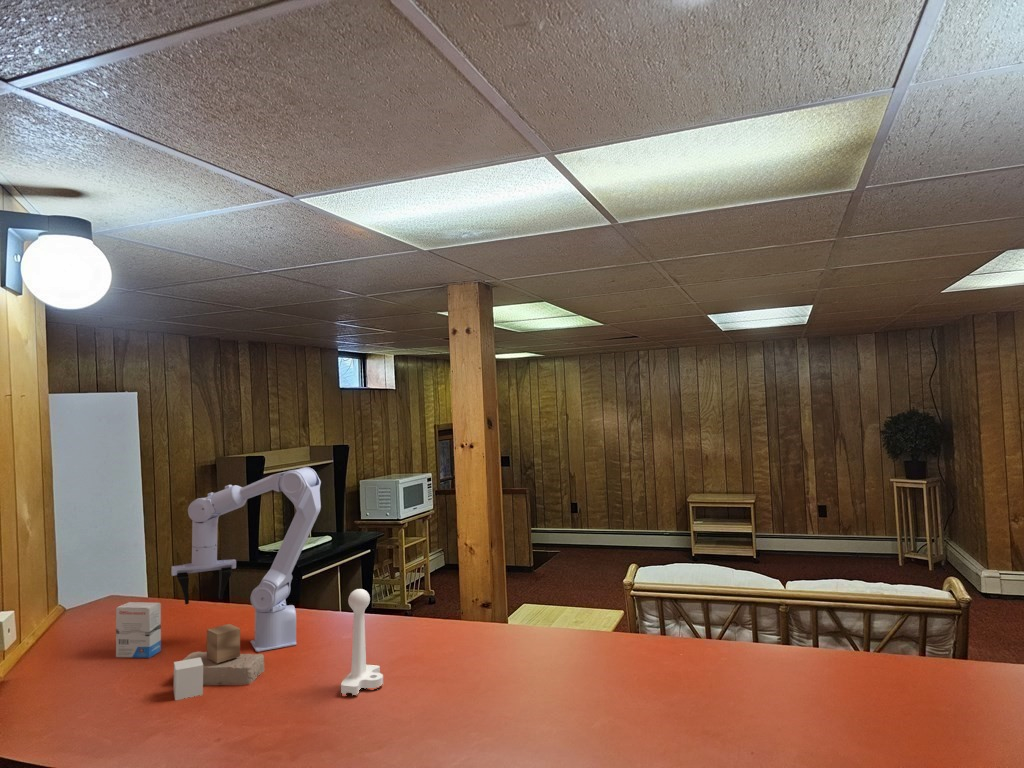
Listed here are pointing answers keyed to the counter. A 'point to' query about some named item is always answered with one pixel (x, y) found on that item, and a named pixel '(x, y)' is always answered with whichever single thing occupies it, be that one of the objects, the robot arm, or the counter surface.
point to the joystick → (360, 650)
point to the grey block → (188, 678)
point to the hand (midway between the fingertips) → (203, 600)
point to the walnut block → (223, 643)
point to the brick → (230, 669)
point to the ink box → (138, 629)
